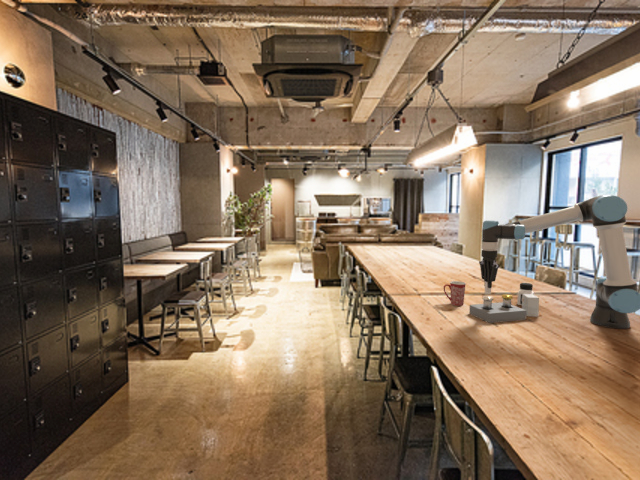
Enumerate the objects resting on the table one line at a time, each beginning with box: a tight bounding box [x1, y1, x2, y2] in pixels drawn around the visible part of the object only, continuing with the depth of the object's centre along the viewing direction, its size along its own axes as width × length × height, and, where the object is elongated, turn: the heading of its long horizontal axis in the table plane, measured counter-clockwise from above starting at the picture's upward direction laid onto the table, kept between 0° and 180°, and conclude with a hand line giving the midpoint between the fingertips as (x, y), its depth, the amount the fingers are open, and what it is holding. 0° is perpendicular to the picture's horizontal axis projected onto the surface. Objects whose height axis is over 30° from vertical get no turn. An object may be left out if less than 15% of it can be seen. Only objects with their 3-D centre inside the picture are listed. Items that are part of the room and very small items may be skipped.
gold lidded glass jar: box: [501, 293, 514, 308], centre depth 182 cm, size 5×5×7 cm
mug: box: [443, 280, 467, 307], centre depth 206 cm, size 13×9×14 cm
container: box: [516, 282, 535, 306], centre depth 203 cm, size 8×8×13 cm
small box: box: [521, 294, 540, 317], centre depth 184 cm, size 8×6×10 cm
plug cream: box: [482, 295, 494, 310], centre depth 180 cm, size 5×5×7 cm
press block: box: [468, 301, 527, 324], centre depth 181 cm, size 16×22×5 cm
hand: (487, 293), depth 179 cm, fingers closed
